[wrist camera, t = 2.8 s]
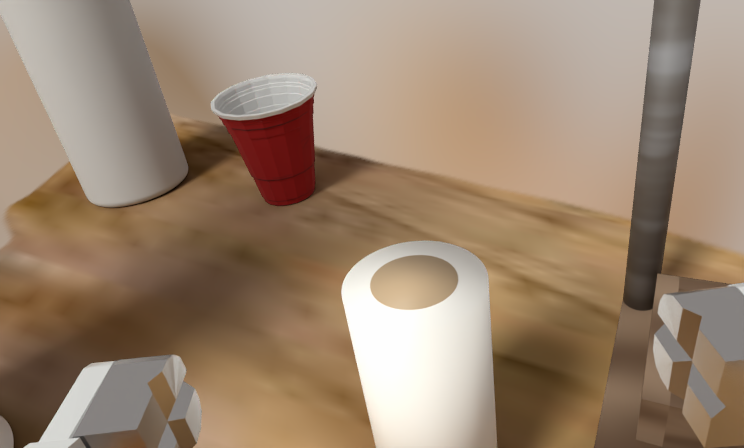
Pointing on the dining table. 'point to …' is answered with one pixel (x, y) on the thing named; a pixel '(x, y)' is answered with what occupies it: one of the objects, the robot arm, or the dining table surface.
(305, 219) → the dining table surface
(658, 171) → the roll holder
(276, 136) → the plastic cup
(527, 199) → the dining table surface
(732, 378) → the robot arm
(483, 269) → the paper roll
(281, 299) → the dining table surface
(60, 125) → the cylinder vase
